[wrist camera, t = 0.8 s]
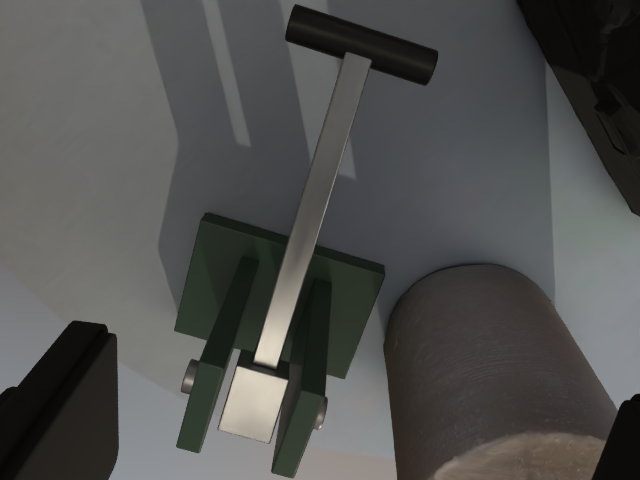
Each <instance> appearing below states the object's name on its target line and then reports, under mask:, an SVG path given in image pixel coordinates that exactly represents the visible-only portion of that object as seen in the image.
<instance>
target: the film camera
mask: <svg viewBox="0 0 640 480" xmlns="http://www.w3.org/2000/svg"><path fill="white" fill-rule="evenodd" d="M516 2H517V4H518V5H519V7H520V9H521V11H522V13H523V16H524V18H525V21H526V24H527V26H528V27H529V29H530V31H531V32H532V34H533V36H534V37H535V39H536V40H537V42H538V44H539V46H540V48H541V50H542V52H543V54H544V56H545V58H546V60H547V62H548V64H549V65H550V67H551V68H552V70H553V72H554V74H555V76H556V78H557V80H558V82H559V83H560V85H561V87H562V89H563V91H564V93H565V94H566V96H567V98H568V100H569V101H570V103H571V105H572V107H573V109H574V111H575V113H576V115H577V117H578V118H579V120H580V122H581V123H582V125H583V127H584V128H585V130H586V132H587V134H588V136H589V138H590V140H591V142H592V144H593V145H594V147H595V149H596V151H597V153H598V155H599V157H600V159H601V161H602V163H603V165H604V167H605V168H606V170H607V172H608V174H609V175H610V176H611V178H612V180H613V181H614V183H615V184H616V186H617V188H618V189H619V191H620V192H621V194H622V196H623V197H624V199H625V201H626V202H627V204H628V206H629V208H630V210H631V212H632V213H634V214H636V215H638V216H640V0H516Z"/></svg>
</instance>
